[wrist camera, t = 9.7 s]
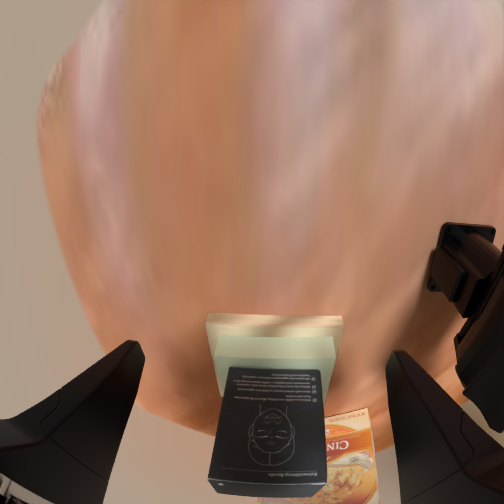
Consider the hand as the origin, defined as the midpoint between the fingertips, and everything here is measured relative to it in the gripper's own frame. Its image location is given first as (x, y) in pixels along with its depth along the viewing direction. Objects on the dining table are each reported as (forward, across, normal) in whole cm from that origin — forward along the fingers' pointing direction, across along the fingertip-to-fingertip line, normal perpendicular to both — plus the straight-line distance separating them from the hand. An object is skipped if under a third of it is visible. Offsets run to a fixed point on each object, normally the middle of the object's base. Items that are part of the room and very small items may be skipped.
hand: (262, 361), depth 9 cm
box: (+9, 0, +14) cm, 17 cm away
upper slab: (+12, 0, +15) cm, 19 cm away
